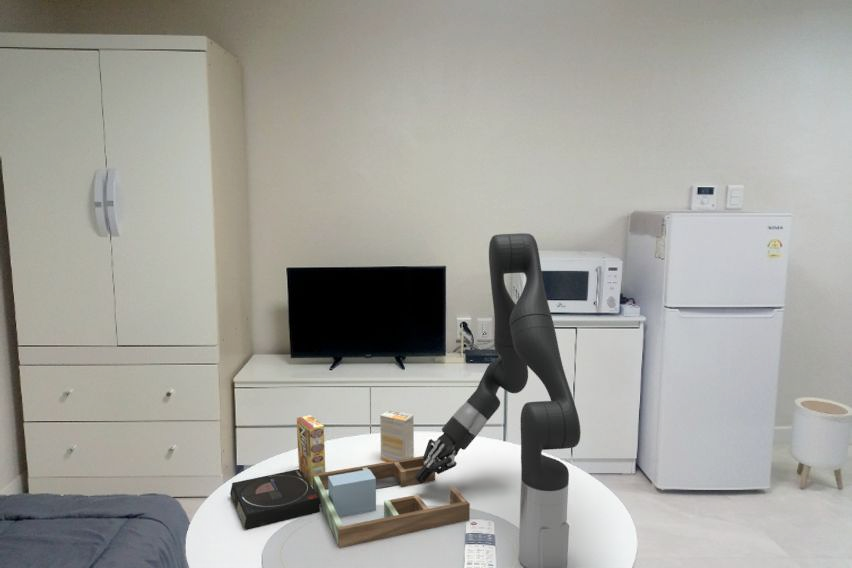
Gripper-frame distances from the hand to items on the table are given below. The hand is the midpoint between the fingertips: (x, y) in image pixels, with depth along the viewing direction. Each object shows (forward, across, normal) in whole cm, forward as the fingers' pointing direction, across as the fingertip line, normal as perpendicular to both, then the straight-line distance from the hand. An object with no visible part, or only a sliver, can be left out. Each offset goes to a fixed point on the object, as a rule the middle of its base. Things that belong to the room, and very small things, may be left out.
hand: (418, 480), depth 150 cm
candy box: (+19, -19, -12) cm, 29 cm away
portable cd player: (+27, -9, -20) cm, 35 cm away
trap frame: (+9, +1, -3) cm, 9 cm away
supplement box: (+2, -21, +4) cm, 22 cm away
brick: (+15, 0, -8) cm, 17 cm away
